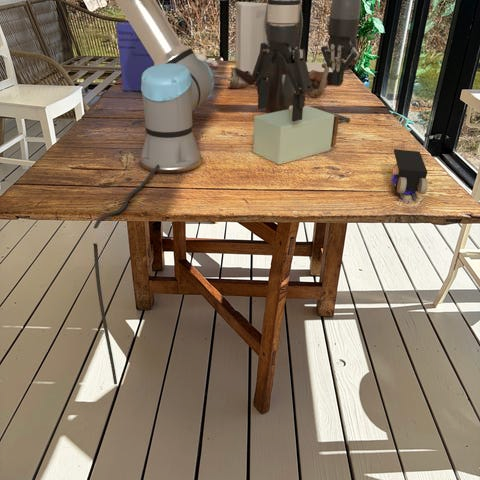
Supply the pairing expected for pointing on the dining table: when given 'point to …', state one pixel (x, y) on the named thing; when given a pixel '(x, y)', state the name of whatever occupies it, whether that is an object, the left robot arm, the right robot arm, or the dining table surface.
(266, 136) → the pale green rectangular box
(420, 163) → the figurine character
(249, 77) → the figurine
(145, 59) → the cereal box
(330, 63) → the right robot arm
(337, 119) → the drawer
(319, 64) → the disc drive
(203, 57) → the toy
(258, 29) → the tall white carton
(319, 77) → the anatomical model
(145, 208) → the dining table surface
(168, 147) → the left robot arm
